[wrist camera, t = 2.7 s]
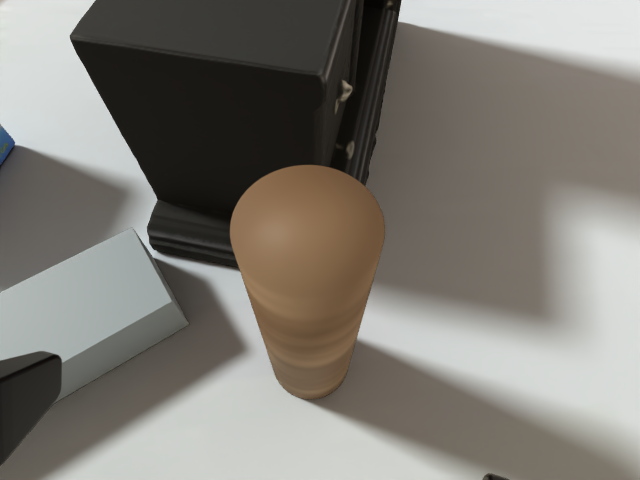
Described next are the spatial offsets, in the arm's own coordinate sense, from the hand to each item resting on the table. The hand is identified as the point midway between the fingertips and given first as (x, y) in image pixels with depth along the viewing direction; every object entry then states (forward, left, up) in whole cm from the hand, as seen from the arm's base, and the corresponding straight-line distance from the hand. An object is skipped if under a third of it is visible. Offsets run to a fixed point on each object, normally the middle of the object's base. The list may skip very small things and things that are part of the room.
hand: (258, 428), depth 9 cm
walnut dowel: (+3, -3, -11) cm, 12 cm away
